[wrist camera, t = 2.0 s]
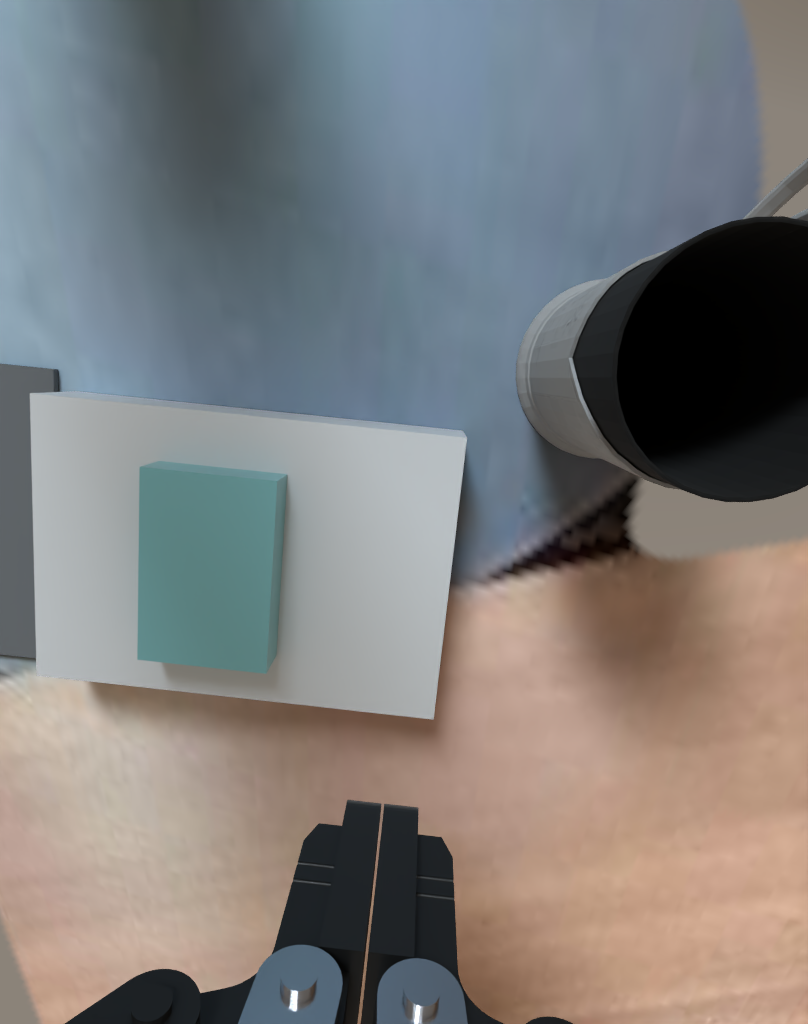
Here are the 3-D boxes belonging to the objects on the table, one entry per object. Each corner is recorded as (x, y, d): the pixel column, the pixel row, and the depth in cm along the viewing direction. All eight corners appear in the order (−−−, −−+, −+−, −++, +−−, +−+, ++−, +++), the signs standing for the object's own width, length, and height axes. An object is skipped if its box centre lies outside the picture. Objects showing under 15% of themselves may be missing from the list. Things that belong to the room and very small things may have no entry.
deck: (77, 391, 33) (29, 393, 29) (462, 430, 33) (466, 437, 29) (79, 643, 36) (36, 675, 32) (433, 682, 36) (433, 719, 32)
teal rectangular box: (158, 460, 30) (139, 466, 28) (287, 474, 29) (277, 481, 27) (155, 642, 31) (137, 659, 29) (276, 655, 31) (266, 673, 29)
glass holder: (480, 392, 32) (522, 404, 18) (664, 137, 30) (896, -100, 15) (617, 492, 33) (766, 583, 18) (808, 252, 30) (1164, 134, 16)
